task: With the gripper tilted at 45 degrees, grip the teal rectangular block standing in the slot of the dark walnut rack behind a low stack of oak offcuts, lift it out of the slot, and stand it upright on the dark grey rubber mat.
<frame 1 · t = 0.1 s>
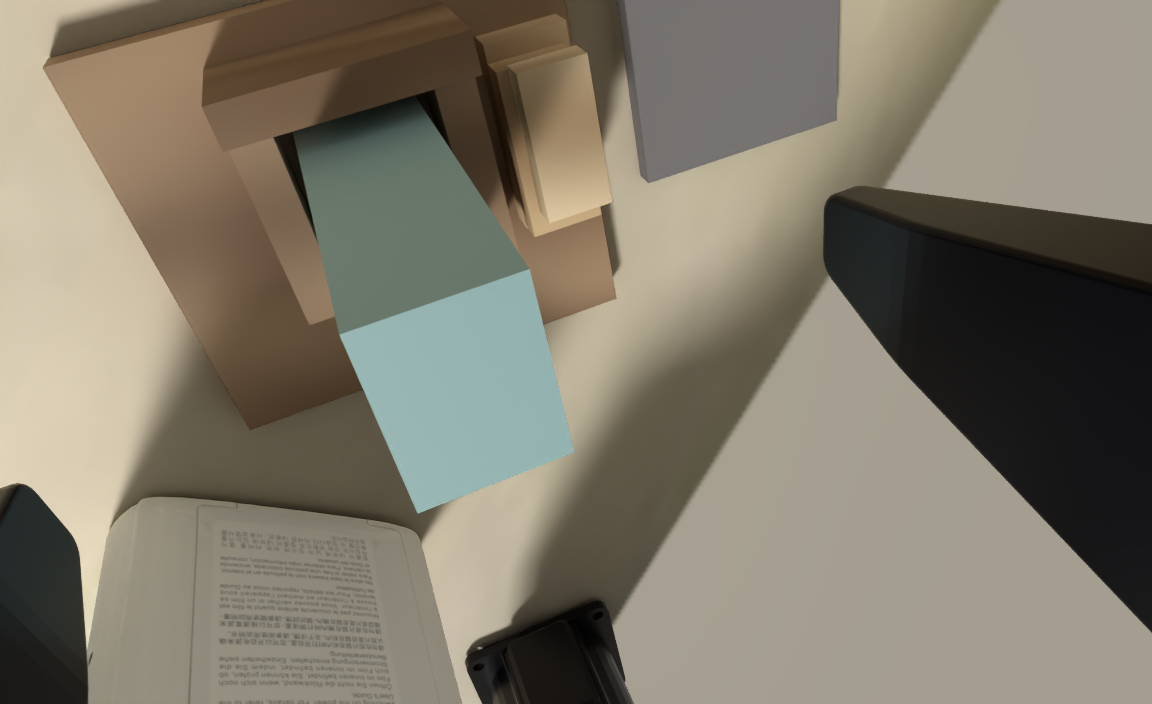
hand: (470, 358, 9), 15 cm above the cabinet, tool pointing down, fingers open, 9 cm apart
mat: (727, 15, 24), on the cabinet
rack: (381, 194, 23), on the cabinet
photo printer: (271, 541, 28), on the cabinet
teal rectangular block: (373, 172, 22), point 1 cm above the cabinet, touching rack
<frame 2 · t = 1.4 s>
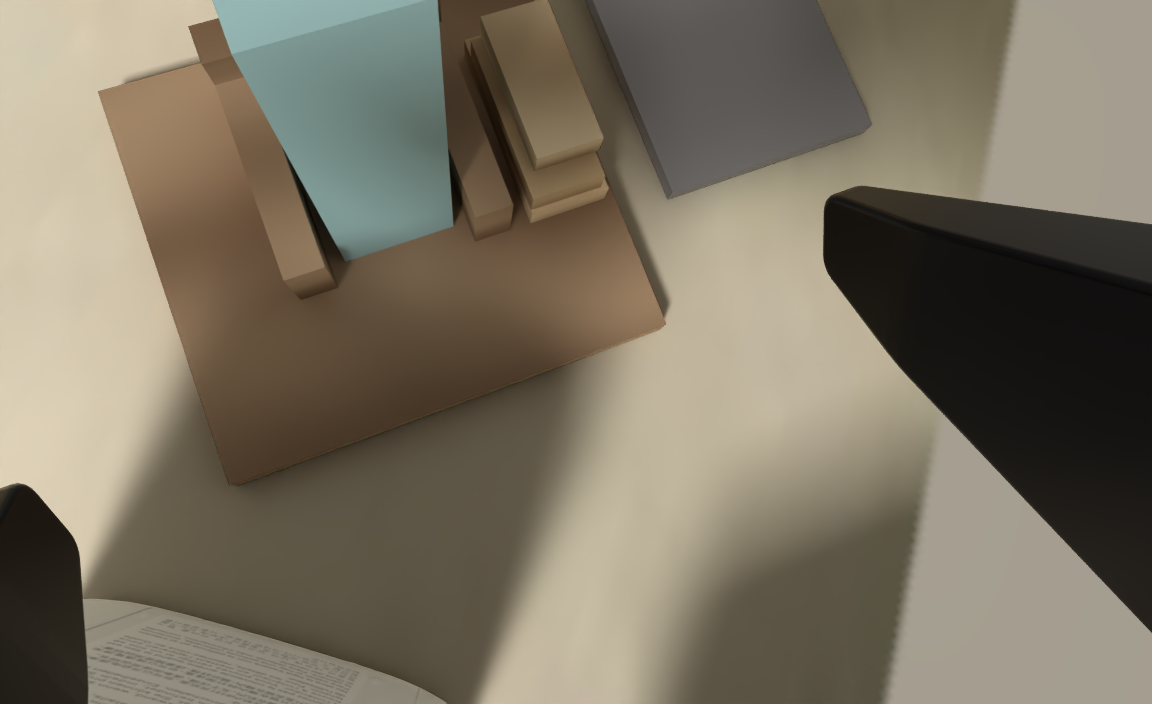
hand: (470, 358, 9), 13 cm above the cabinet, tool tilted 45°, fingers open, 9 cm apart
mat: (716, 47, 25), on the cabinet
rack: (390, 219, 23), on the cabinet
teal rectangular block: (375, 176, 22), point 1 cm above the cabinet, touching rack
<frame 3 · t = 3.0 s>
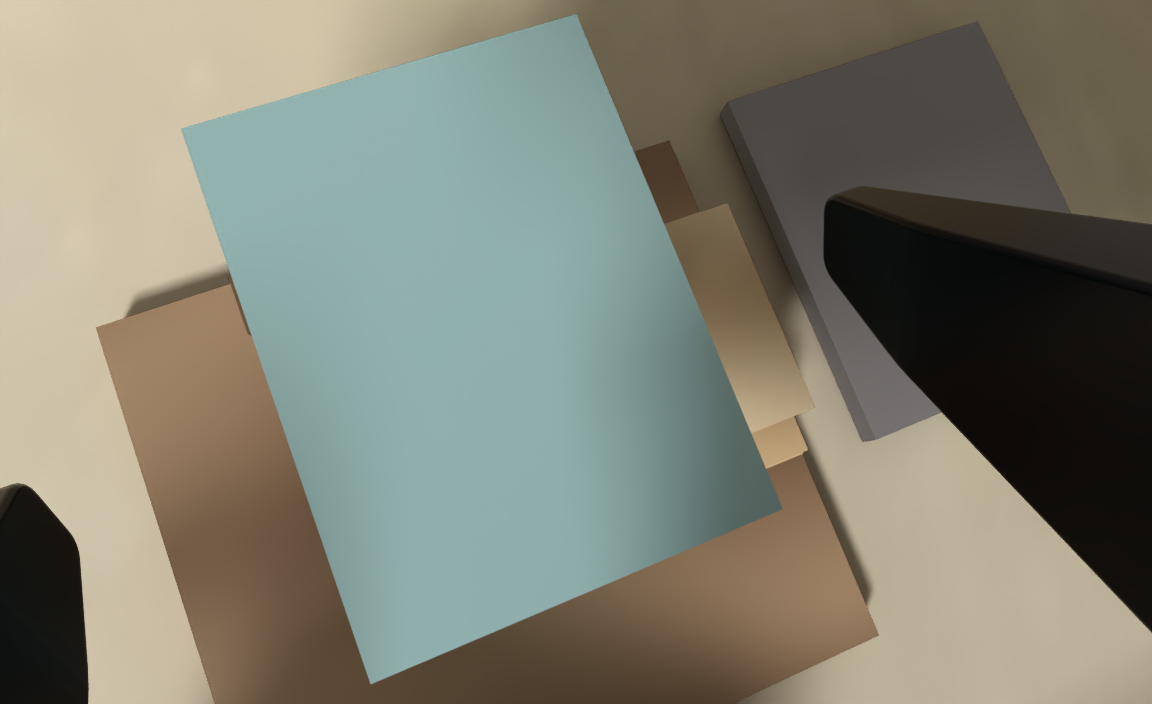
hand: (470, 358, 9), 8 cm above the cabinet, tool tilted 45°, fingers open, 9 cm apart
mat: (915, 227, 19), on the cabinet
rack: (495, 485, 17), on the cabinet
teal rectangular block: (478, 436, 16), point 1 cm above the cabinet, touching rack
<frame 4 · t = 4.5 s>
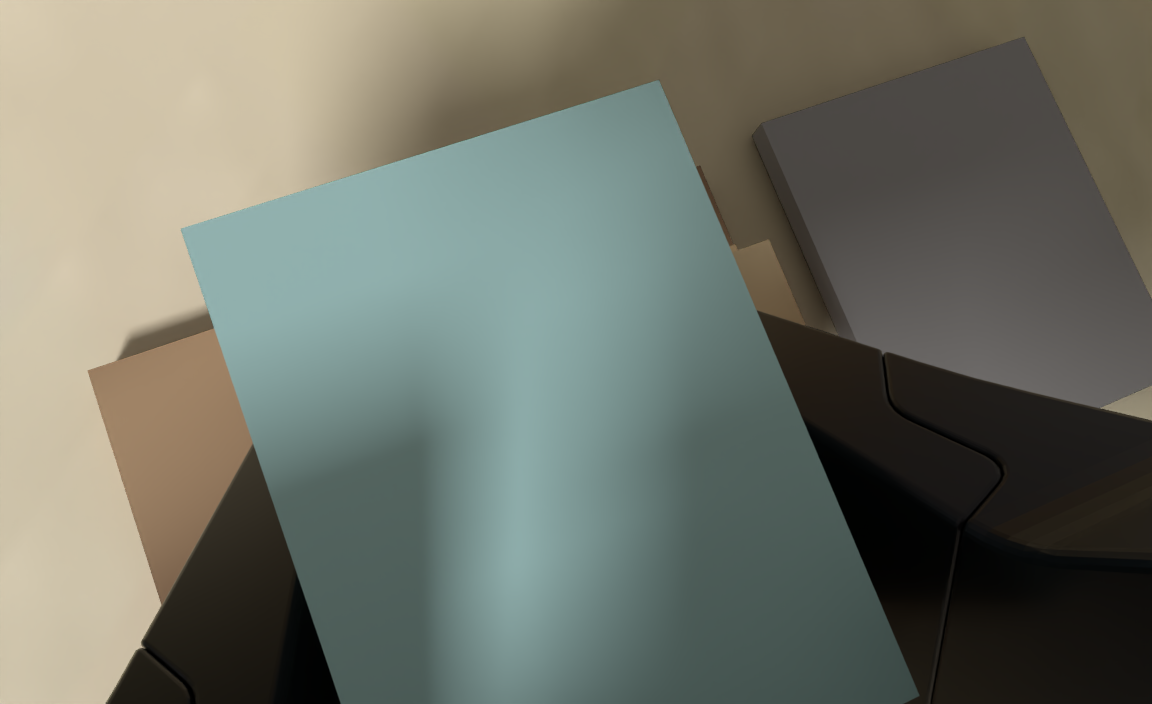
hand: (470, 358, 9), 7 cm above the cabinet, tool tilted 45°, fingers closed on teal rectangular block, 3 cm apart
mat: (958, 255, 18), on the cabinet
rack: (515, 536, 16), on the cabinet
teal rectangular block: (498, 486, 15), point 1 cm above the cabinet, touching gripper, rack
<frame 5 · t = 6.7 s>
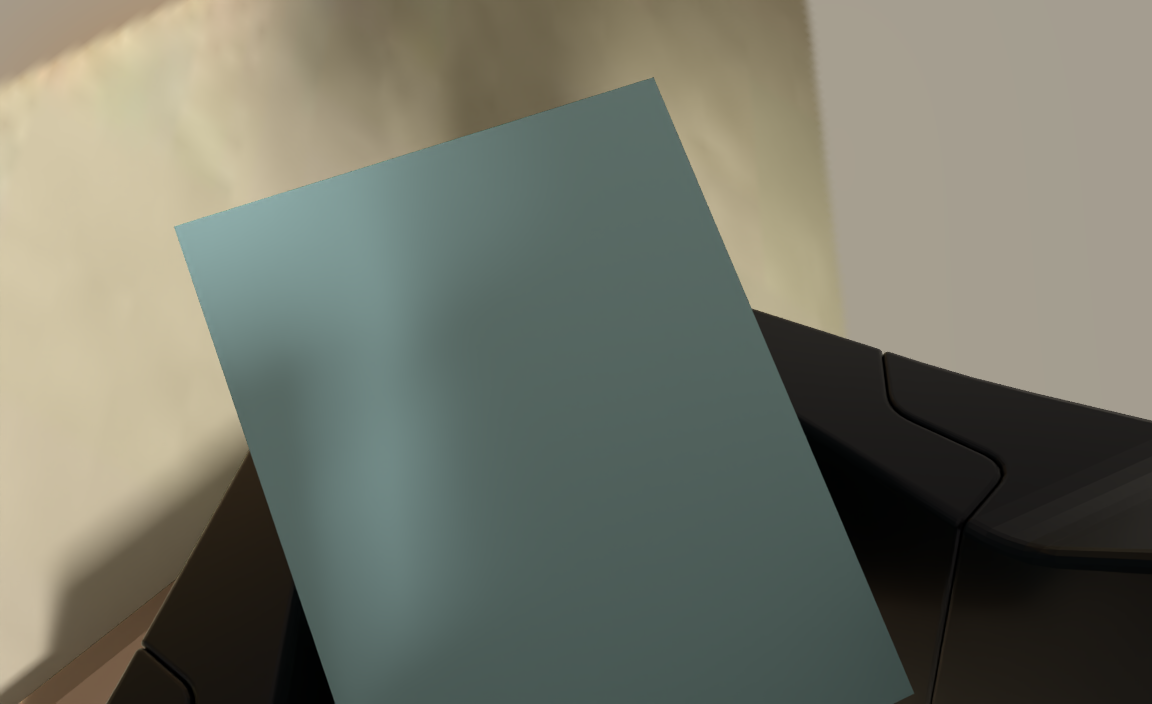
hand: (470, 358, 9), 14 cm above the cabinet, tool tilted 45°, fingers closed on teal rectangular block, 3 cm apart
teal rectangular block: (496, 485, 15), point 7 cm above the cabinet, touching gripper
when the fingers open (8 cm above the cabinet, at t = 8.8 s): teal rectangular block stays where it is, resting on mat.
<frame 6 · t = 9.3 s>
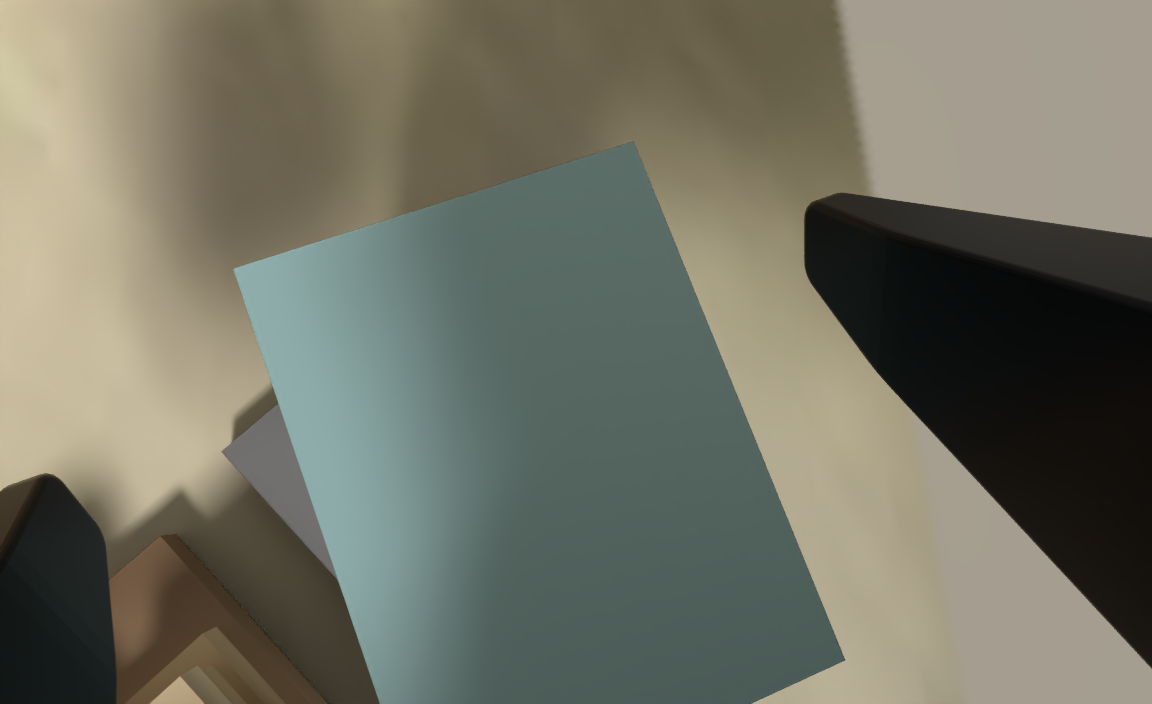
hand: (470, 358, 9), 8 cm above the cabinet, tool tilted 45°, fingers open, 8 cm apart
mat: (495, 486, 16), on the cabinet
teal rectangular block: (497, 484, 16), point 1 cm above the cabinet, touching mat
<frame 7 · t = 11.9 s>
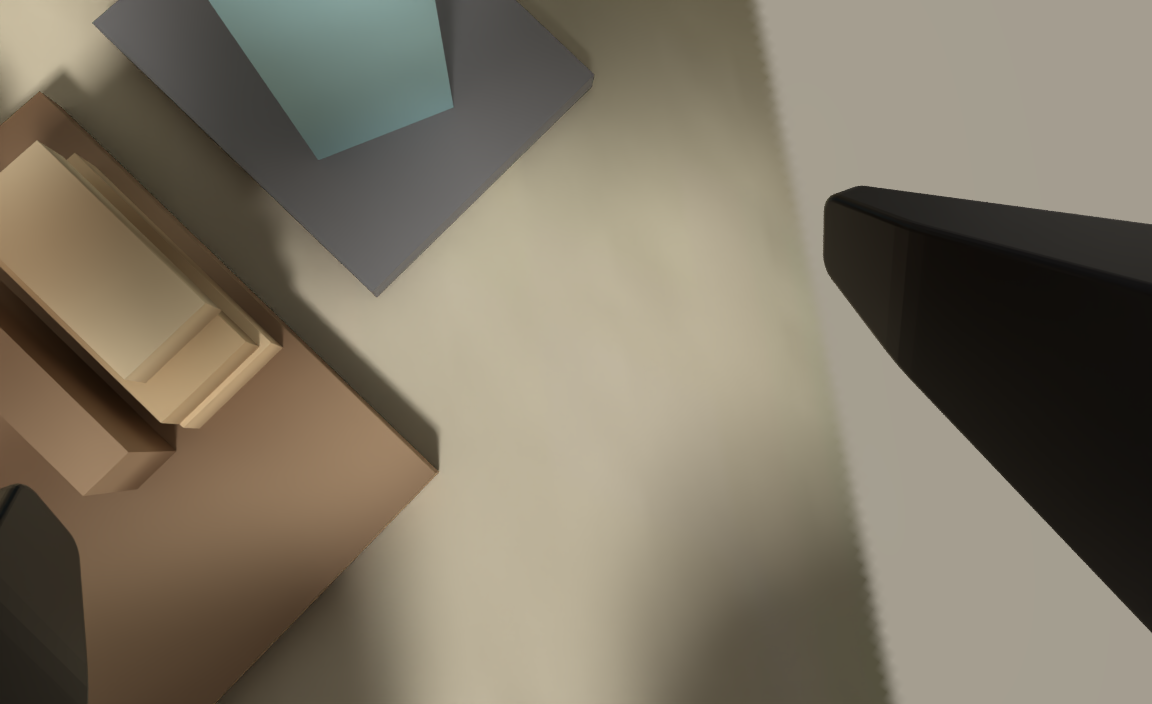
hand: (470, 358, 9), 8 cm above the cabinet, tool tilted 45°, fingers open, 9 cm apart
mat: (353, 62, 18), on the cabinet
rack: (25, 501, 16), on the cabinet
teal rectangular block: (349, 48, 17), point 1 cm above the cabinet, touching mat
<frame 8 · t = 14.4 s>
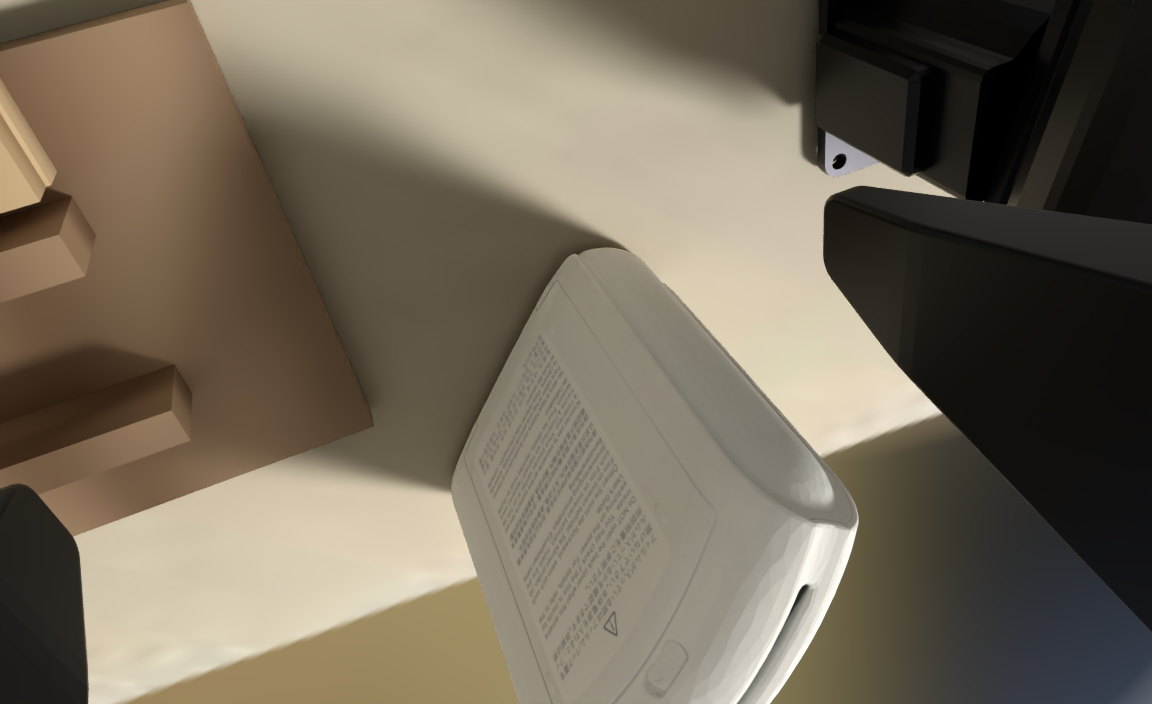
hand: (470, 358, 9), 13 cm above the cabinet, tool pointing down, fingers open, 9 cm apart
rack: (73, 309, 20), on the cabinet
photo printer: (547, 379, 27), on the cabinet
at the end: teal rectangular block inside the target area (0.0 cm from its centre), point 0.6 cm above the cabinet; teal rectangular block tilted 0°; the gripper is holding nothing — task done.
